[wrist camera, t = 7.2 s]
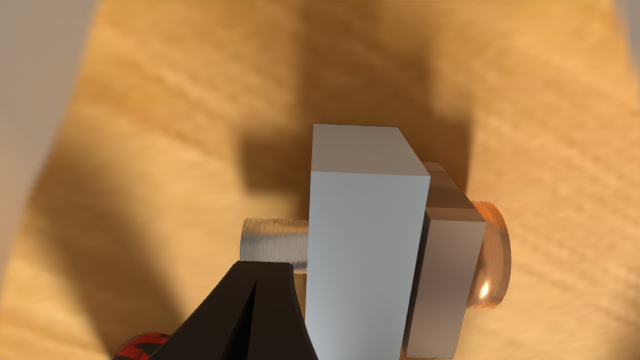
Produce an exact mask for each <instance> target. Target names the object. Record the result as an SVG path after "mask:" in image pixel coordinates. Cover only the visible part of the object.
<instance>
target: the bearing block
mask: <svg viewBox="0 0 640 360" xmlns="http://www.w3.org/2000/svg"><path fill="white" fill-rule="evenodd" d="M430 178H431V176H430V175H429V173H428V172H427V170H426V169H425V167H424V166H423V164H422V163H421V161H420V160H419V158H418V157H417V155H416V154H415V152H414V151H413V149H412V148H411V146H410V145H409V143H408V142H407V141H406V139H405V138H404V136H403V135H402V133H401V132H400V130H399V129H398V127H381V126H359V125H336V124H313V142H312V161H311V184H310V209H309V234H308V260H307V285H306V310H305V325H306V328H307V331H308V334H309V337H310V339H311V342H312V345H313V347H314V349H315V352H316V354H317V357H318V359H319V360H399V357H400V351H401V345H402V339H403V334H404V328H405V322H406V316H407V311H408V305H409V299H410V293H411V287H412V282H413V276H414V270H415V264H416V259H417V253H418V247H419V241H420V236H421V230H422V224H423V218H424V212H425V207H426V201H427V195H428V189H429V184H430Z"/></svg>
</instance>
